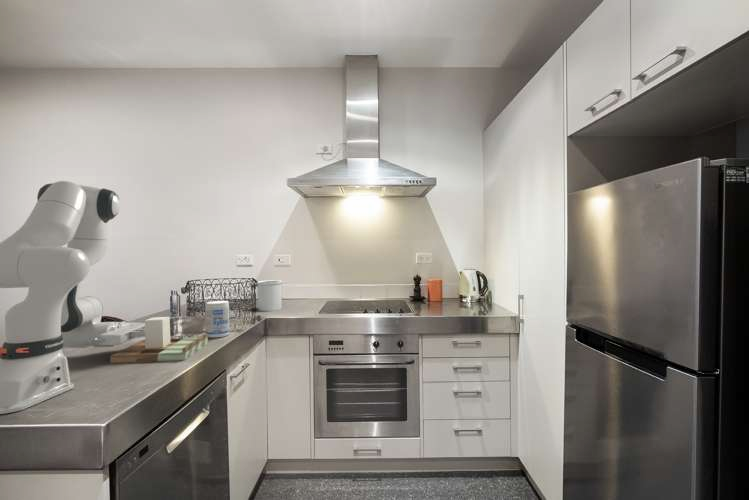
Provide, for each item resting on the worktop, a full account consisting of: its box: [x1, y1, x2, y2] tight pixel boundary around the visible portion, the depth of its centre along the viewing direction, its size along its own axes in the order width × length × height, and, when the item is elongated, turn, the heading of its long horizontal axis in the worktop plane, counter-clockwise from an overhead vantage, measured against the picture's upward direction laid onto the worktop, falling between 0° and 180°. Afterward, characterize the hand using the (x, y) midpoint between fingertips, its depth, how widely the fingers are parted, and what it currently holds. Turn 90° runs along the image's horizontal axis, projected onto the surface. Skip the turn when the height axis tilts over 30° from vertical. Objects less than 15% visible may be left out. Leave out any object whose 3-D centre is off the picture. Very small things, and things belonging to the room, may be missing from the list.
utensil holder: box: [256, 279, 283, 312], centre depth 229 cm, size 15×15×18 cm
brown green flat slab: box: [109, 332, 209, 364], centre depth 136 cm, size 22×24×4 cm
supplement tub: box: [204, 300, 230, 339], centre depth 161 cm, size 10×10×15 cm
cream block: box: [144, 316, 171, 348], centre depth 136 cm, size 6×6×10 cm
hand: (149, 332), depth 135 cm, fingers closed
